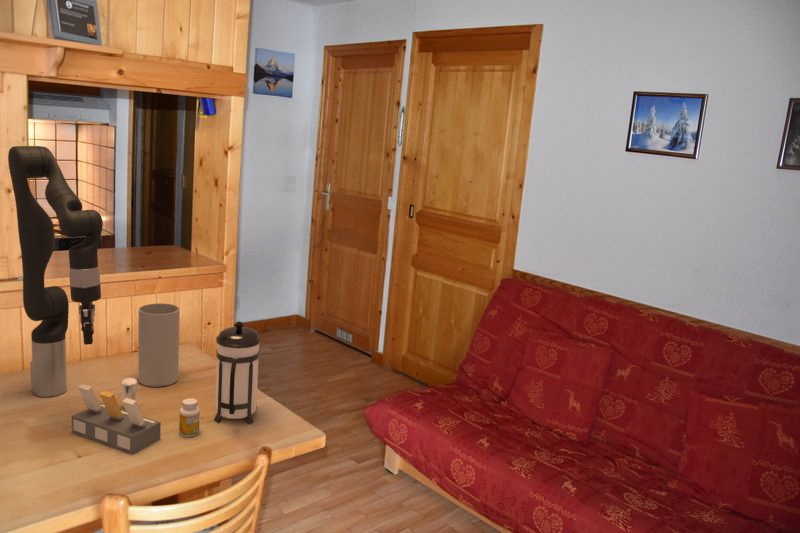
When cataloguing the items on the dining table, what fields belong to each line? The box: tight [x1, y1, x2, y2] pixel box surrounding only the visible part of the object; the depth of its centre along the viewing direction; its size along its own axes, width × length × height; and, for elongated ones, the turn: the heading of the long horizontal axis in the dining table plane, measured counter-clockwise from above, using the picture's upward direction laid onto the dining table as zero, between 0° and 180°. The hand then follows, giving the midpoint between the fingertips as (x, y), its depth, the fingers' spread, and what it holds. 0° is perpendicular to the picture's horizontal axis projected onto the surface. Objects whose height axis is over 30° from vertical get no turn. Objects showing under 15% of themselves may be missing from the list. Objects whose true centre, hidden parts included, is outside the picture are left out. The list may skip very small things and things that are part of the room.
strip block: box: [71, 402, 162, 455], centre depth 180 cm, size 22×10×5 cm, turn 67°
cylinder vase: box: [137, 302, 180, 388], centre depth 216 cm, size 12×12×25 cm
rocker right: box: [122, 398, 146, 428], centre depth 174 cm, size 4×1×9 cm, turn 67°
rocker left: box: [77, 383, 102, 413], centre depth 180 cm, size 4×1×9 cm, turn 67°
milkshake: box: [120, 377, 139, 410], centre depth 197 cm, size 4×5×10 cm
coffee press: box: [213, 321, 262, 425], centre depth 194 cm, size 17×16×30 cm
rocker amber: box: [99, 390, 124, 420], centre depth 177 cm, size 4×1×9 cm, turn 67°
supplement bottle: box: [178, 397, 201, 438], centre depth 185 cm, size 5×5×10 cm
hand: (89, 339), depth 183 cm, fingers open, 8 cm apart
